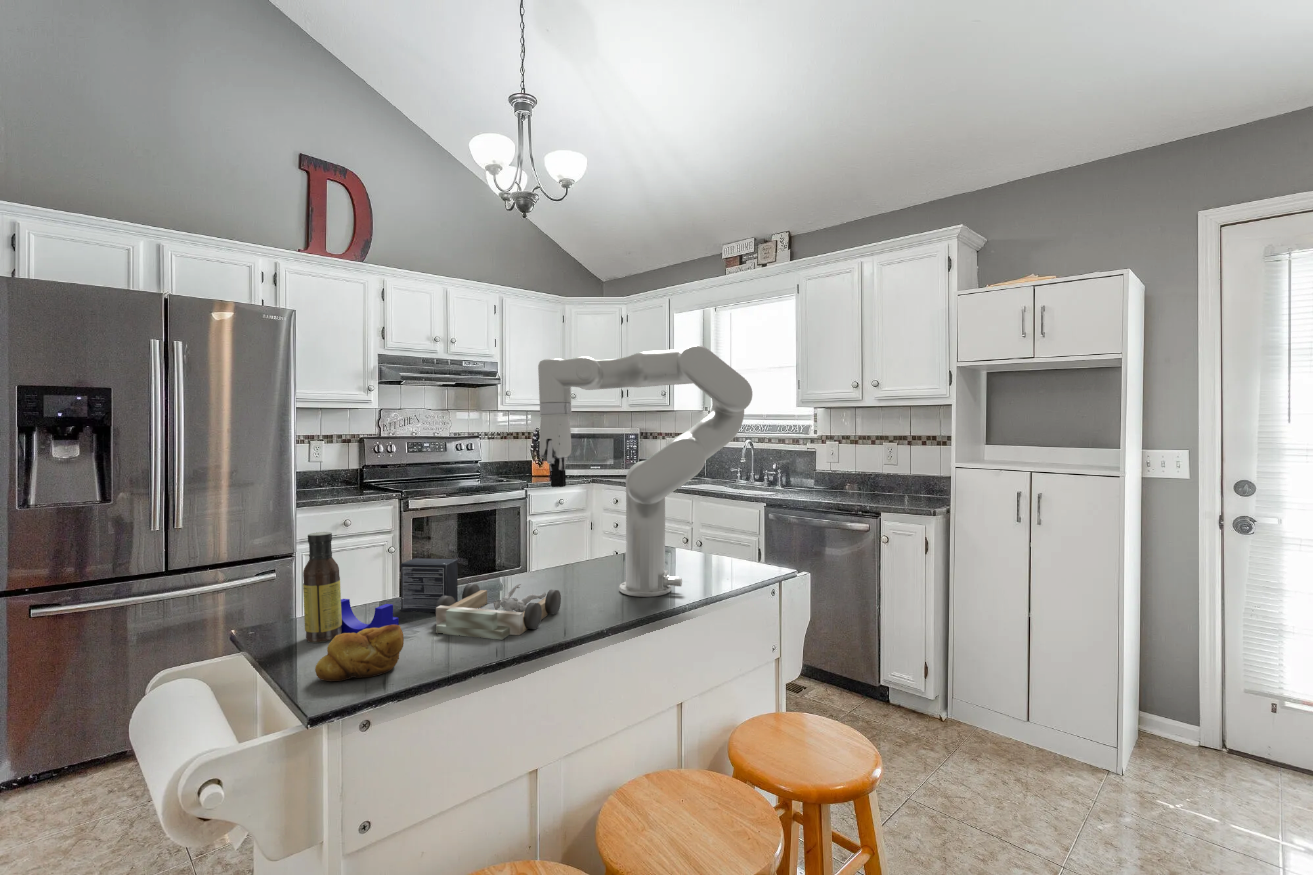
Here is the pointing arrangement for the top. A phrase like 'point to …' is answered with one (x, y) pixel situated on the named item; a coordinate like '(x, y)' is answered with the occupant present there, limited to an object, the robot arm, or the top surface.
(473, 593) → the chassis
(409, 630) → the top surface
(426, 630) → the top surface
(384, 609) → the blue cradle block
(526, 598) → the soldier figure
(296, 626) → the top surface
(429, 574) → the small box
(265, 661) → the top surface
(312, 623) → the sauce bottle
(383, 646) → the bread roll
